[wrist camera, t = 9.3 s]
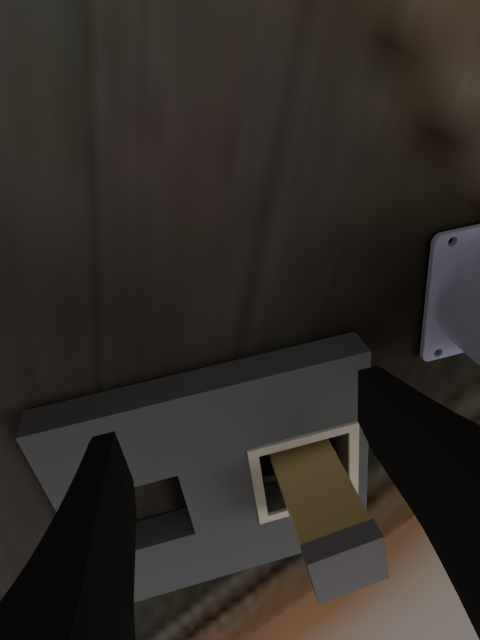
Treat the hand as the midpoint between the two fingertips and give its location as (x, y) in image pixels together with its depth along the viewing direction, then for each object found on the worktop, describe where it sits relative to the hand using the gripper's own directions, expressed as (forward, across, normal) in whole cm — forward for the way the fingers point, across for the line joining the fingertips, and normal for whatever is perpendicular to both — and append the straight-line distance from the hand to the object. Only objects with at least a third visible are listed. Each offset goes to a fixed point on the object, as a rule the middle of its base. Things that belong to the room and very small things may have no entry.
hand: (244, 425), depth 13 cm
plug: (+10, -4, +13) cm, 17 cm away
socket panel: (+10, +1, +13) cm, 16 cm away
